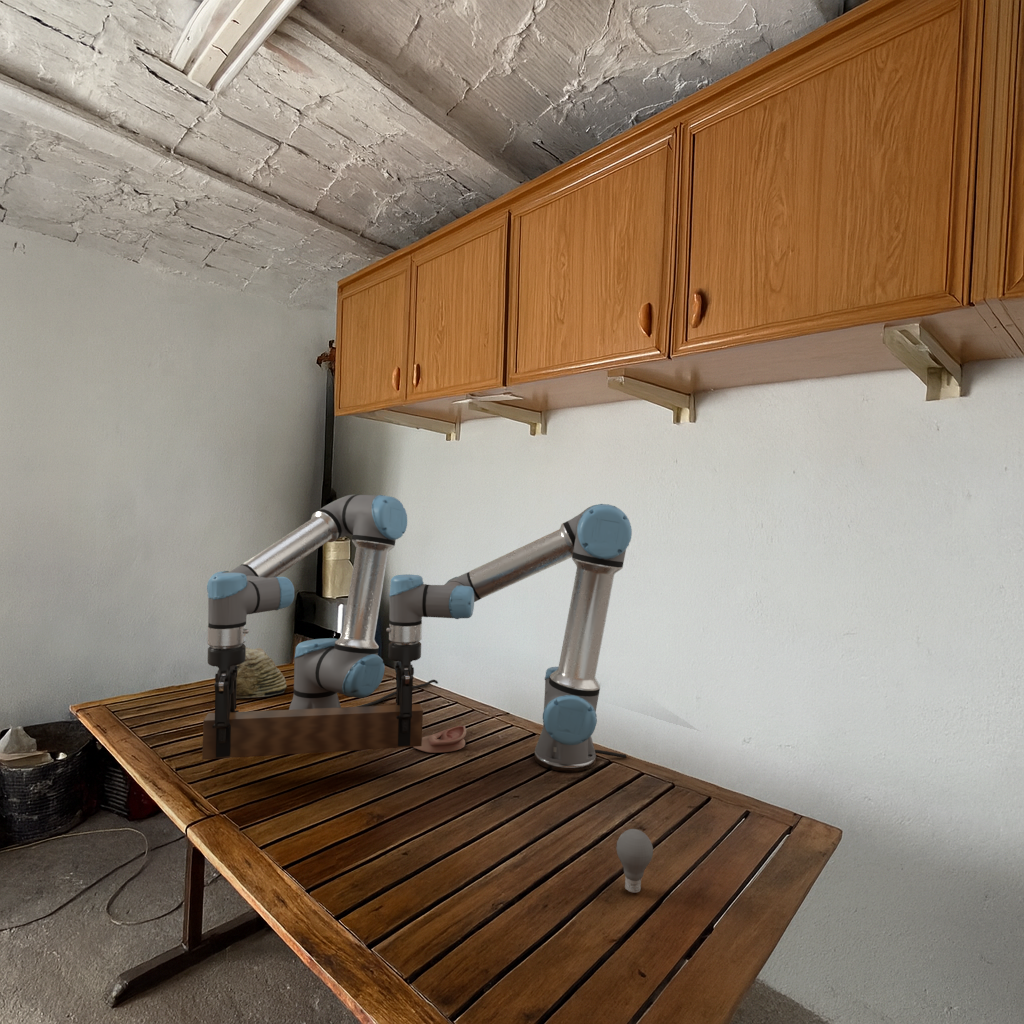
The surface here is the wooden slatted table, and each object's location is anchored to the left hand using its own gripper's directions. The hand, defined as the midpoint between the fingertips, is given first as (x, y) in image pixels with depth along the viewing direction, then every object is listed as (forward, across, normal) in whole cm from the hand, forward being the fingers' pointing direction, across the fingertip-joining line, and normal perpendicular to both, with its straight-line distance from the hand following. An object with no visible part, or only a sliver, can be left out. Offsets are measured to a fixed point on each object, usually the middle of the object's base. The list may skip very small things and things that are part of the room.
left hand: (225, 750), depth 138 cm
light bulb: (+8, -53, -71) cm, 89 cm away
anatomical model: (+8, +14, -49) cm, 52 cm away
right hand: (+1, 0, -38) cm, 38 cm away
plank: (+1, 0, -19) cm, 19 cm away
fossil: (+8, +62, +2) cm, 63 cm away
